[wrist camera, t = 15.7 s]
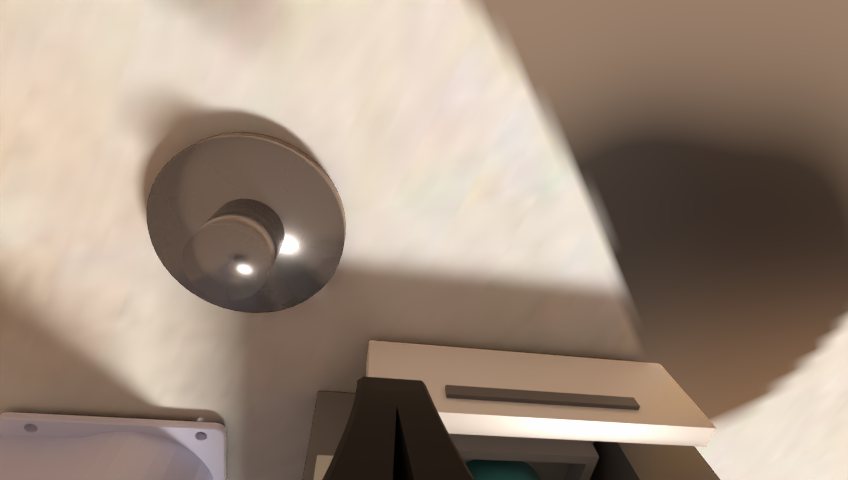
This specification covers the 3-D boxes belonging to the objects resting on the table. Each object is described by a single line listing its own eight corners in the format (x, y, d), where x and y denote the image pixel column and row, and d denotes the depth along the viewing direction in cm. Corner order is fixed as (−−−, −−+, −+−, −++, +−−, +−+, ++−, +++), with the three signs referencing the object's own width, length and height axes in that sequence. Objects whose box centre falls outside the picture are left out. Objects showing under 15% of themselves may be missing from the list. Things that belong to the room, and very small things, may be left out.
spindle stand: (162, 293, 18) (116, 347, 15) (150, 118, 15) (90, 137, 12) (337, 309, 19) (329, 362, 16) (354, 147, 16) (348, 172, 13)
